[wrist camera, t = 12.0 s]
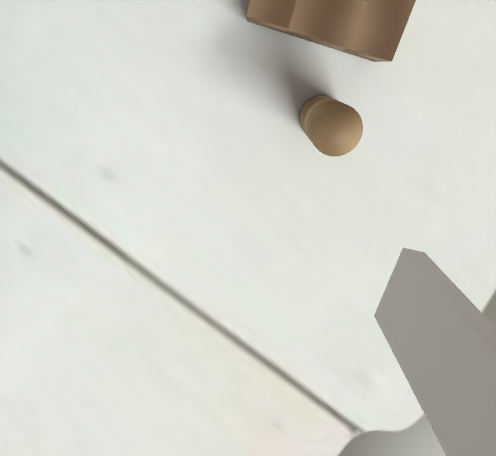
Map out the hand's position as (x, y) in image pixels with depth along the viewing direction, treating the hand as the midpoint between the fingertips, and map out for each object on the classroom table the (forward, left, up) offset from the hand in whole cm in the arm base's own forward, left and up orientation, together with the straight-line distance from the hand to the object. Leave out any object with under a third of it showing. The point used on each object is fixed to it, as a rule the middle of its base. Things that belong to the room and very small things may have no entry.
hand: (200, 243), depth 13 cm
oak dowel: (+8, +3, -28) cm, 29 cm away
